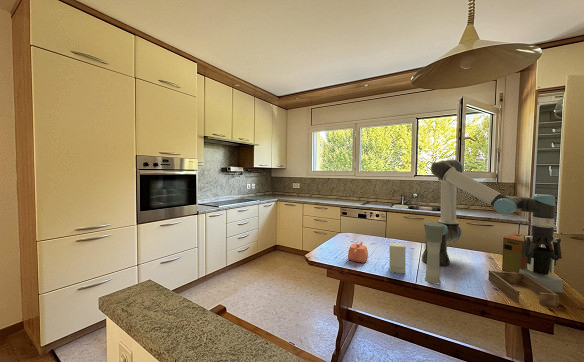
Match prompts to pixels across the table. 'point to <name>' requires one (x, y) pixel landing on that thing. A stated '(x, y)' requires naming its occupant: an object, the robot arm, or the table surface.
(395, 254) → the skincare box
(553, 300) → the walnut frame
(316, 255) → the table surface
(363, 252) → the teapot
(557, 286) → the slate plinth
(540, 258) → the cup
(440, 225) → the container
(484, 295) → the table surface
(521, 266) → the box
